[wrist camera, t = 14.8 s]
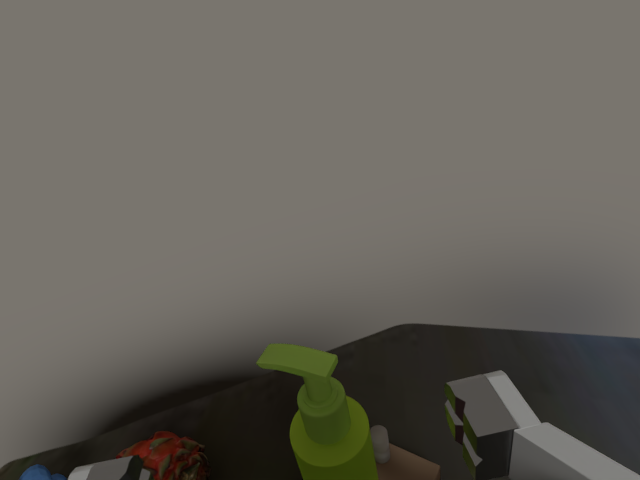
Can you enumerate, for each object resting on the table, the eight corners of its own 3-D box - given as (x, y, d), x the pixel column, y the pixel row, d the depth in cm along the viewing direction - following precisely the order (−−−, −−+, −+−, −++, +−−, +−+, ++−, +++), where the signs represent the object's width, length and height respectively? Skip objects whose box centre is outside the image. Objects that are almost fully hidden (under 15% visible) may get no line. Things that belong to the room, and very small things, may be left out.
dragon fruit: (232, 498, 42) (129, 533, 43) (218, 415, 46) (122, 448, 46) (197, 518, 35) (71, 561, 35) (182, 417, 38) (68, 456, 39)
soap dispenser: (324, 473, 39) (280, 320, 30) (392, 497, 36) (368, 335, 27) (298, 536, 35) (236, 381, 25) (373, 570, 32) (336, 408, 22)
